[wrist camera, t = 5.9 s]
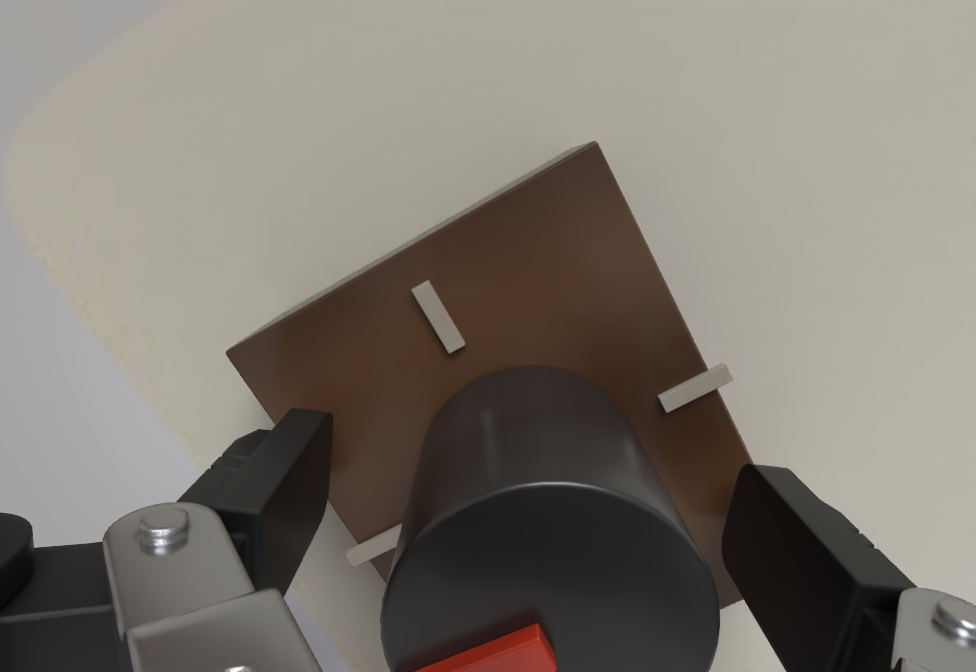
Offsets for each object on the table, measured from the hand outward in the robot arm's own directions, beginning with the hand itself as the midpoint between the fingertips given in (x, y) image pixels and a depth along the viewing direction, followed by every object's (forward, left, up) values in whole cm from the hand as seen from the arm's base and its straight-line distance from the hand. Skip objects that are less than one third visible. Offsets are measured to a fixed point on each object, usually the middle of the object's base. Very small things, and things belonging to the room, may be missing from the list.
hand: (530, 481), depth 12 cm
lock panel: (0, 0, -4) cm, 4 cm away
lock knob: (0, 0, -1) cm, 1 cm away
